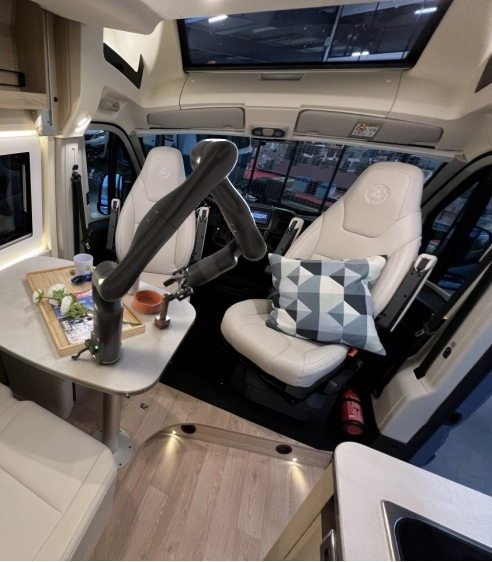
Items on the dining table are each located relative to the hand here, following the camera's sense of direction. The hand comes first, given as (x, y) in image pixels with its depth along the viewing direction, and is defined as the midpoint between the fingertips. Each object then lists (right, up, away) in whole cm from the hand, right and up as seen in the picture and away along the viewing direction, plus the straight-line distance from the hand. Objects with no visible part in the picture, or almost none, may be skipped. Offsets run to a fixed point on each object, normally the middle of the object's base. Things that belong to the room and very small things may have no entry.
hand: (164, 292), depth 105 cm
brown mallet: (0, -13, +8) cm, 15 cm away
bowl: (-5, -7, +19) cm, 20 cm away
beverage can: (-11, -1, +28) cm, 30 cm away
